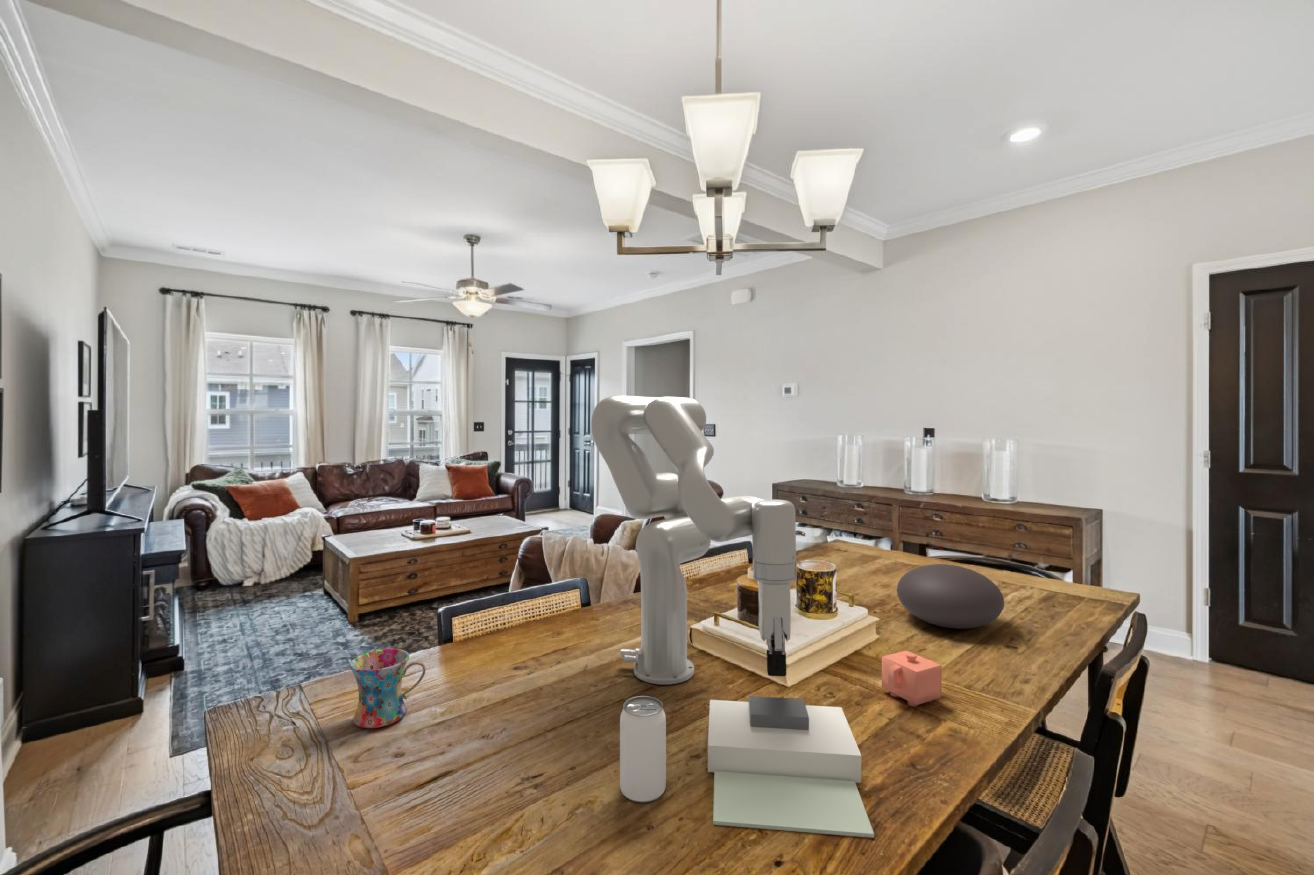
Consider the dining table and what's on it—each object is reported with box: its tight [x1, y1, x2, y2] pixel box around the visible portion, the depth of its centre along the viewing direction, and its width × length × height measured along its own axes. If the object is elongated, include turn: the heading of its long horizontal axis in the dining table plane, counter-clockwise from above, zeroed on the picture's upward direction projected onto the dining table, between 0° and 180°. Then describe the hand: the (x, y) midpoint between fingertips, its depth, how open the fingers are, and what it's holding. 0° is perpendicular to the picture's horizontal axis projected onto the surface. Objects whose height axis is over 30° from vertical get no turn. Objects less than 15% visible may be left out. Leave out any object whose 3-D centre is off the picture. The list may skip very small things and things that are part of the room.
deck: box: [707, 699, 862, 784], centre depth 90 cm, size 22×14×4 cm, turn 83°
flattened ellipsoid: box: [896, 563, 1005, 630], centre depth 147 cm, size 25×25×15 cm
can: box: [619, 695, 667, 804], centre depth 80 cm, size 6×6×12 cm
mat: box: [712, 771, 875, 839], centre depth 77 cm, size 20×10×1 cm, turn 83°
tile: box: [748, 695, 809, 730], centre depth 92 cm, size 9×6×2 cm, turn 83°
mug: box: [349, 648, 427, 729], centre depth 100 cm, size 12×9×11 cm
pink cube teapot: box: [881, 649, 943, 708], centre depth 108 cm, size 8×12×8 cm, turn 116°
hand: (776, 673), depth 100 cm, fingers closed
